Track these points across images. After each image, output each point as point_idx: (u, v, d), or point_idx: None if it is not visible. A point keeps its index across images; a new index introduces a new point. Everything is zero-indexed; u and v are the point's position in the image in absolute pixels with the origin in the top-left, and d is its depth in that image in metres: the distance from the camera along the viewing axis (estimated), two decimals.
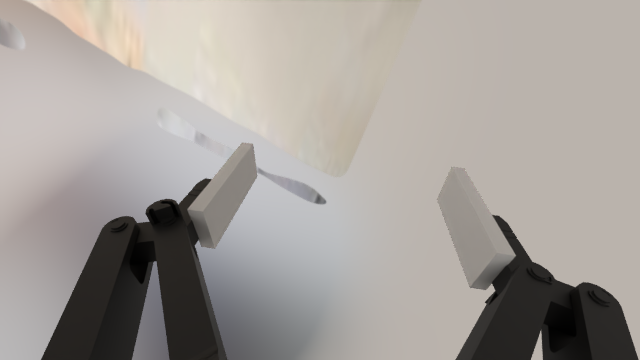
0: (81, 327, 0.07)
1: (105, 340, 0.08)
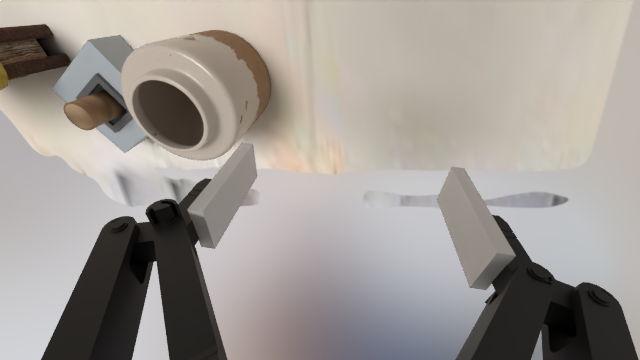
0: (82, 327, 0.07)
1: (105, 340, 0.08)
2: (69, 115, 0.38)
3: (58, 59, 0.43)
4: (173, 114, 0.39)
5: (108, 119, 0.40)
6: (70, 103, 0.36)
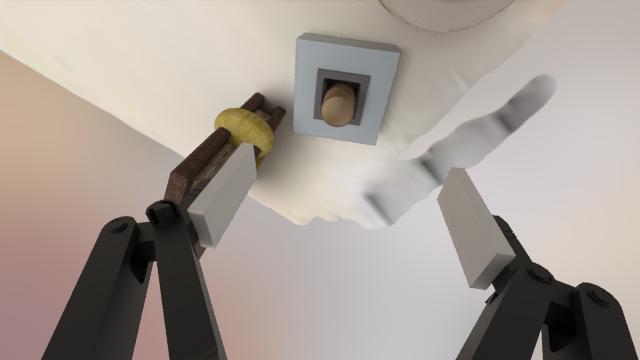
0: (81, 327, 0.07)
1: (105, 340, 0.08)
2: (328, 119, 0.33)
3: (278, 110, 0.44)
4: None
5: None
6: (324, 102, 0.32)
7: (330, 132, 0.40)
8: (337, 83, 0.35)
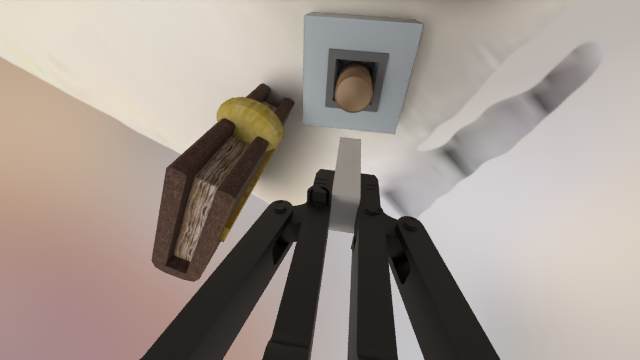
0: (224, 284, 0.09)
1: (232, 305, 0.09)
2: (343, 104, 0.29)
3: (286, 102, 0.40)
4: None
5: None
6: (338, 84, 0.28)
7: (344, 121, 0.37)
8: (351, 64, 0.32)
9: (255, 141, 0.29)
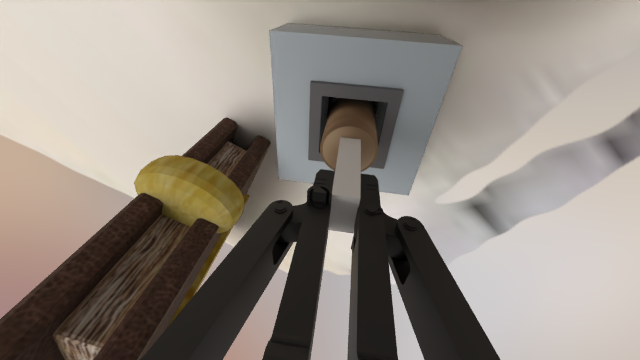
0: (224, 284, 0.09)
1: (232, 306, 0.09)
2: (334, 163, 0.19)
3: (258, 143, 0.30)
4: None
5: None
6: (326, 136, 0.18)
7: None
8: (346, 99, 0.22)
9: (192, 232, 0.18)
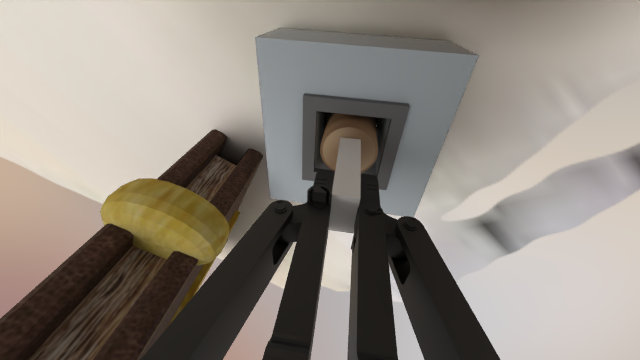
0: (225, 284, 0.09)
1: (232, 305, 0.09)
2: (334, 163, 0.20)
3: (248, 158, 0.27)
4: None
5: None
6: (326, 137, 0.18)
7: None
8: None
9: (165, 269, 0.16)
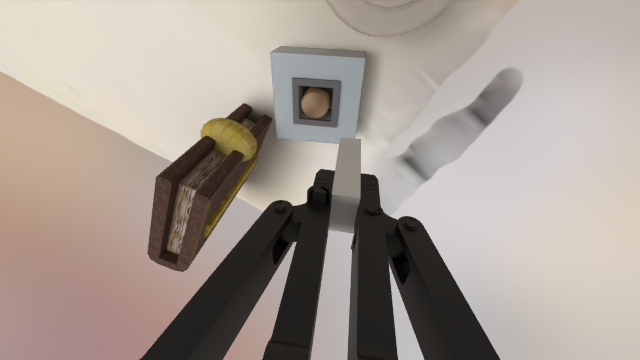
0: (225, 284, 0.09)
1: (232, 306, 0.09)
2: (308, 112, 0.40)
3: (264, 119, 0.47)
4: None
5: (329, 97, 0.40)
6: (303, 97, 0.38)
7: (311, 135, 0.43)
8: None
9: (231, 154, 0.36)
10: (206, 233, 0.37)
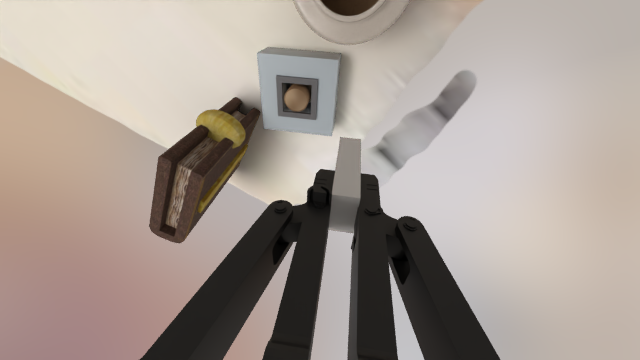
0: (224, 284, 0.09)
1: (232, 306, 0.09)
2: (290, 106, 0.45)
3: (253, 111, 0.53)
4: None
5: (310, 93, 0.46)
6: (286, 93, 0.44)
7: (294, 126, 0.49)
8: None
9: (222, 141, 0.42)
10: (200, 209, 0.43)
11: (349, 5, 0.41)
